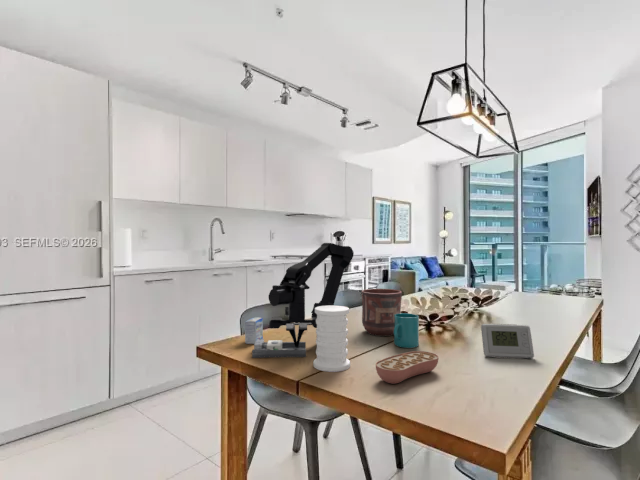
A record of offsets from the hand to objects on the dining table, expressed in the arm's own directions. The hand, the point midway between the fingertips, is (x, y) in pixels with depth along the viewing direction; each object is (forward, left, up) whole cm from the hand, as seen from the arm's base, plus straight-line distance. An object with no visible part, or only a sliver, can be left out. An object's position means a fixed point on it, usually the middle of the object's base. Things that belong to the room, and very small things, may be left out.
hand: (296, 347), depth 131 cm
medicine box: (+17, -16, -2) cm, 23 cm away
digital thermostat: (-72, +7, -2) cm, 72 cm away
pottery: (-36, -28, -2) cm, 46 cm away
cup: (-40, -7, -2) cm, 41 cm away
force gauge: (+8, +1, -1) cm, 9 cm away
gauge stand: (+6, 0, -2) cm, 6 cm away
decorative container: (-11, +14, -2) cm, 18 cm away
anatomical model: (-32, +24, -2) cm, 40 cm away
